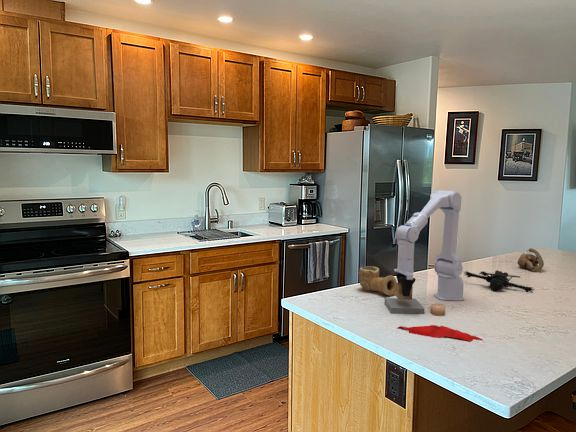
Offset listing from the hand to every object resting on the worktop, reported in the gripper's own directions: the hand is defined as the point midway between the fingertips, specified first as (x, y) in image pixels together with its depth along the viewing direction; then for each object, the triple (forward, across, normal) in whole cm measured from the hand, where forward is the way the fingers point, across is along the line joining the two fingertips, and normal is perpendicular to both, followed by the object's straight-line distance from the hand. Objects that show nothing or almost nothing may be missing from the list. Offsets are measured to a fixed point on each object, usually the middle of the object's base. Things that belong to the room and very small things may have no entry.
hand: (404, 293), depth 160 cm
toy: (+6, -38, +52) cm, 65 cm away
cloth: (+6, +24, +6) cm, 26 cm away
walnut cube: (+1, 0, 0) cm, 1 cm away
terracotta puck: (+6, +5, +11) cm, 13 cm away
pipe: (+6, -21, -7) cm, 23 cm away
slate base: (+6, 0, 0) cm, 6 cm away
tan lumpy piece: (+6, -70, +83) cm, 108 cm away
